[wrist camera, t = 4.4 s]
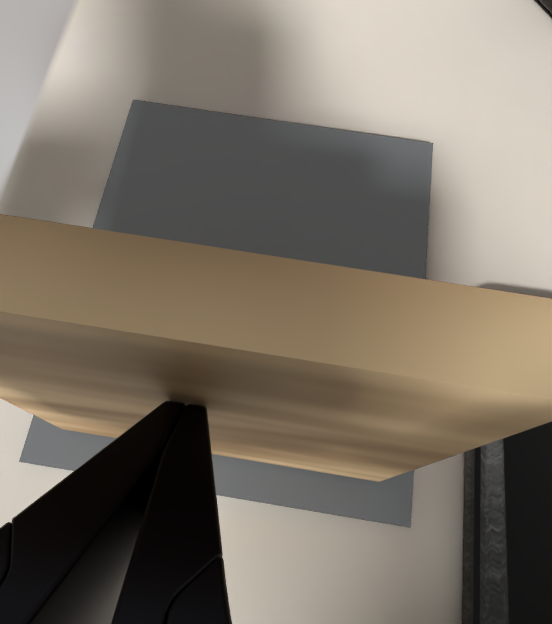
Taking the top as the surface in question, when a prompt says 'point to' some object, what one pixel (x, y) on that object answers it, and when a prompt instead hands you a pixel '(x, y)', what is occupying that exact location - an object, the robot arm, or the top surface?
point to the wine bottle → (547, 4)
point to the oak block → (266, 350)
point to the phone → (508, 530)
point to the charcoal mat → (266, 248)
